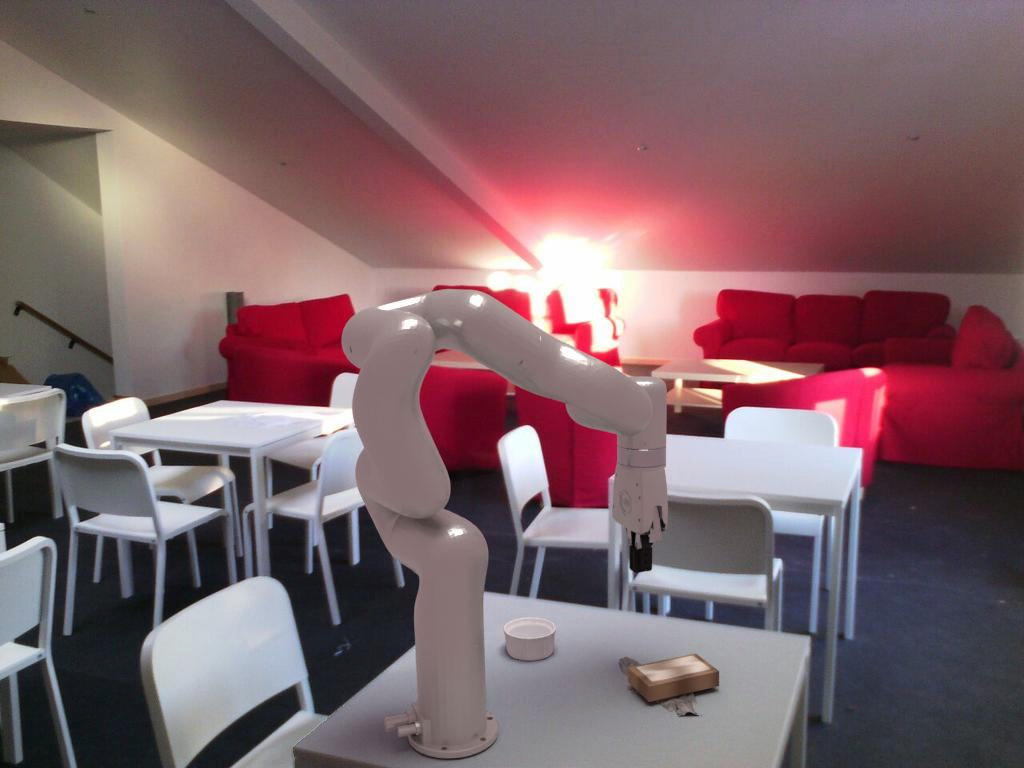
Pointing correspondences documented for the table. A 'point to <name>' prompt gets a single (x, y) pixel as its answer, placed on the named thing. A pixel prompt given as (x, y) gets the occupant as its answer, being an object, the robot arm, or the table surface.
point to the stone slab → (676, 703)
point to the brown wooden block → (673, 677)
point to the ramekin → (529, 638)
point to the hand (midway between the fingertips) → (640, 570)
